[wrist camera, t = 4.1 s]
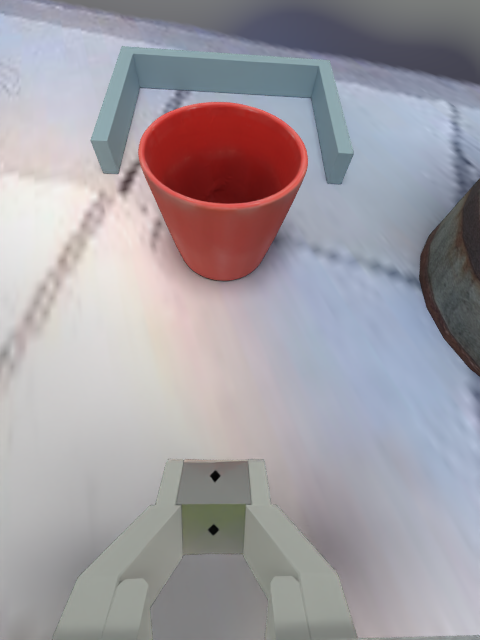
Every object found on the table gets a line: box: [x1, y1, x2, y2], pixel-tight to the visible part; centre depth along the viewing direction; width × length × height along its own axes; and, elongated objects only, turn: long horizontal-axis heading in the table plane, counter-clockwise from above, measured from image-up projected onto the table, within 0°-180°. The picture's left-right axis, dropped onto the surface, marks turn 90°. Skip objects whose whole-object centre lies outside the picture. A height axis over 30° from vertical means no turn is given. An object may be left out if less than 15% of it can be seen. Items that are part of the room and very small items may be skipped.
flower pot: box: [138, 102, 308, 281], centre depth 24 cm, size 11×11×10 cm
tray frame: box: [91, 46, 354, 184], centre depth 35 cm, size 25×18×4 cm
